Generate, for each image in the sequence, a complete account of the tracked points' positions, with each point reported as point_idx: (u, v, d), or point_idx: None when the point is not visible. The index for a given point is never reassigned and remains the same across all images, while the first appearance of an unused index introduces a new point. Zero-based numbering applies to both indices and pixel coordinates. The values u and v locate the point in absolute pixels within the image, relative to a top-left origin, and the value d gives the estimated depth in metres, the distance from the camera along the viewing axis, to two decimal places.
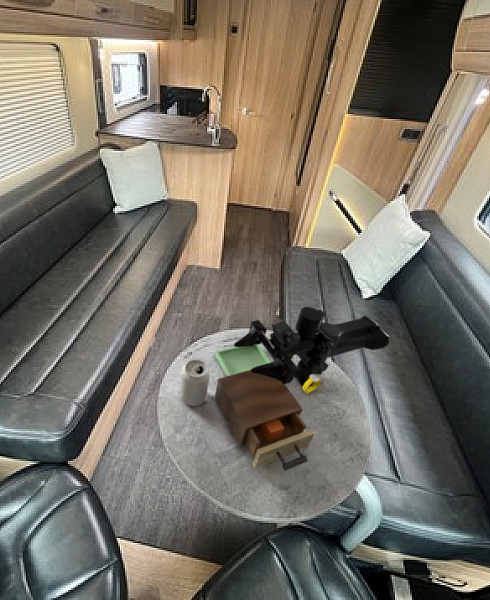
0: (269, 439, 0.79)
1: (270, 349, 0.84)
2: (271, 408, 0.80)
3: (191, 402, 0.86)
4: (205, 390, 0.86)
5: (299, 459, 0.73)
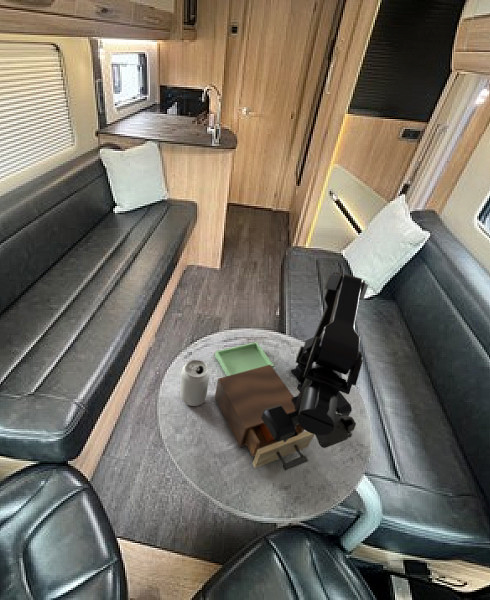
0: (269, 439, 0.79)
1: None
2: None
3: (191, 402, 0.86)
4: (205, 390, 0.86)
5: (299, 459, 0.73)
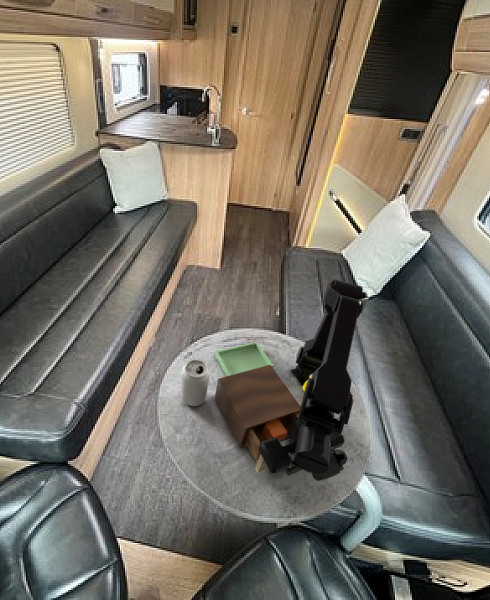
0: None
1: None
2: (271, 408, 0.80)
3: (191, 402, 0.86)
4: (205, 390, 0.86)
5: None
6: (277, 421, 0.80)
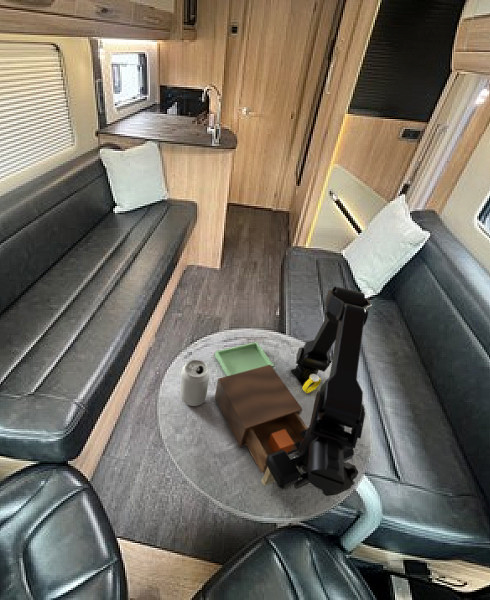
0: None
1: None
2: (271, 408, 0.80)
3: (191, 402, 0.86)
4: (205, 390, 0.86)
5: None
6: (284, 431, 0.78)
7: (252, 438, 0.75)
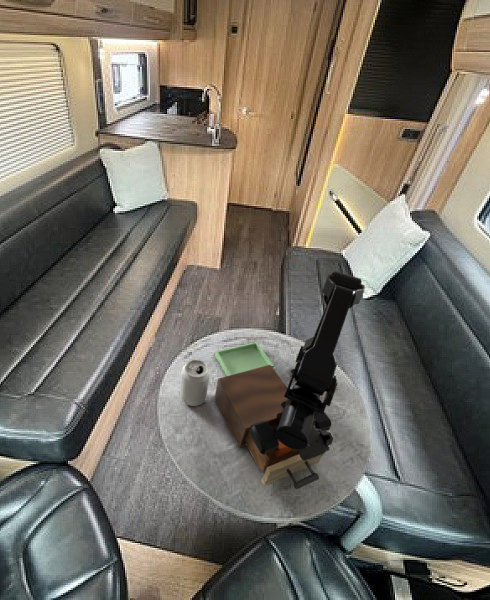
0: (278, 455, 0.76)
1: None
2: (271, 408, 0.80)
3: (191, 402, 0.86)
4: (205, 390, 0.86)
5: (310, 477, 0.70)
6: None
7: None
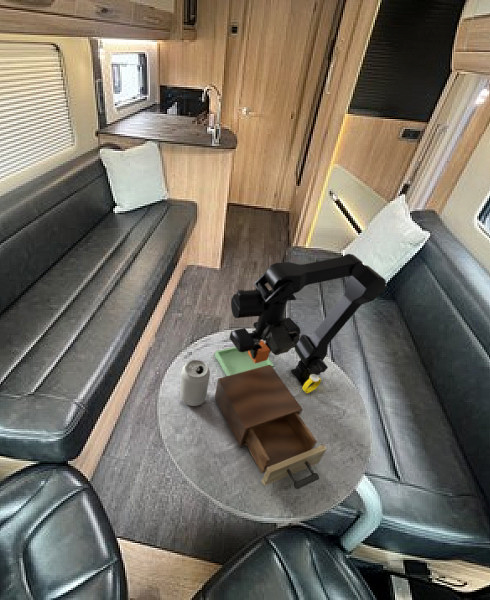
0: (257, 361, 0.88)
1: None
2: (271, 408, 0.80)
3: (191, 402, 0.86)
4: (205, 390, 0.86)
5: (310, 477, 0.70)
6: (261, 342, 0.89)
7: (252, 438, 0.75)
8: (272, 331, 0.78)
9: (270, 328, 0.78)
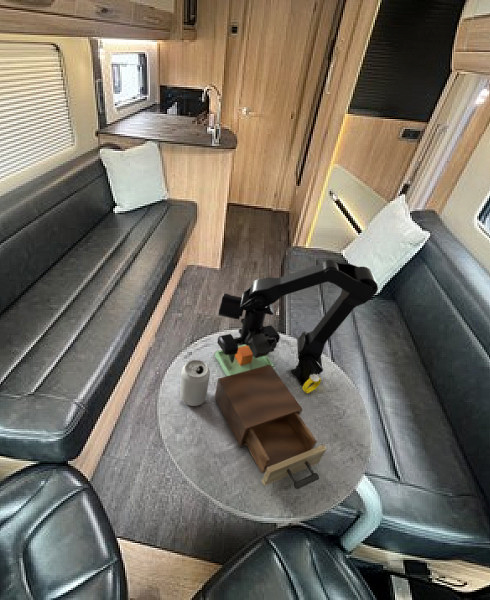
0: (242, 363, 1.01)
1: None
2: (271, 408, 0.80)
3: (191, 402, 0.86)
4: (205, 390, 0.86)
5: (310, 477, 0.70)
6: (246, 347, 1.02)
7: (252, 438, 0.75)
8: (253, 337, 0.91)
9: (251, 334, 0.91)
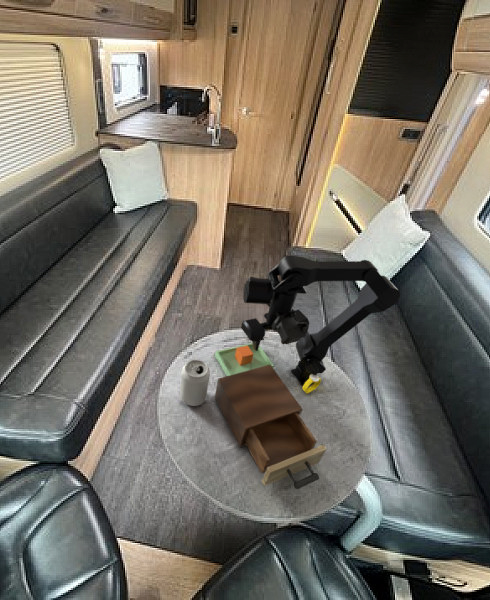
0: (242, 363, 1.01)
1: None
2: (271, 408, 0.80)
3: (191, 402, 0.86)
4: (205, 390, 0.86)
5: (310, 477, 0.70)
6: (246, 347, 1.02)
7: (252, 438, 0.75)
8: (282, 321, 0.82)
9: (280, 318, 0.82)
